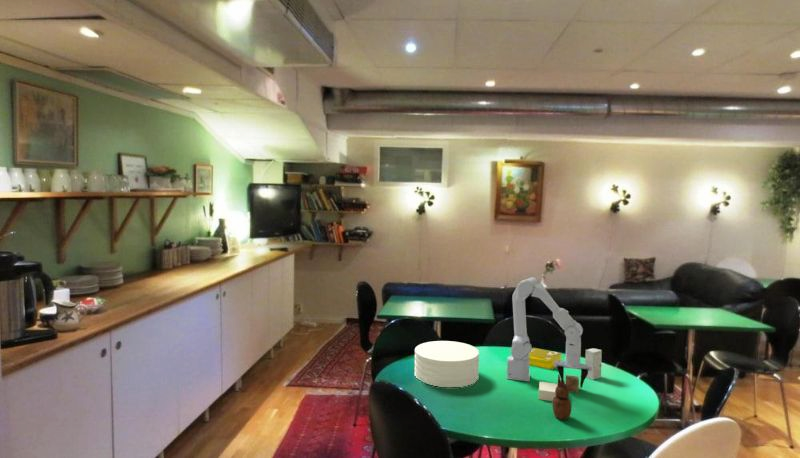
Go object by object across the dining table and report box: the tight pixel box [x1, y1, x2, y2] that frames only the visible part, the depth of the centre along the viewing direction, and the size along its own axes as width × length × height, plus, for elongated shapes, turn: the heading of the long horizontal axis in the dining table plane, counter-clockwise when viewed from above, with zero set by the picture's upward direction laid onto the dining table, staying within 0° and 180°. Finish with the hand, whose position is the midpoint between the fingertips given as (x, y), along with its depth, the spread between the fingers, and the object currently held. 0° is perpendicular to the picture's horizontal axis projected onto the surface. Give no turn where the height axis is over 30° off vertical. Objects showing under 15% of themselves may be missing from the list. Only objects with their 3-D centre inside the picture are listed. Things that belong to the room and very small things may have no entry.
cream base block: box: [538, 381, 558, 402], centre depth 187 cm, size 9×9×4 cm
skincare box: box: [584, 347, 603, 380], centre depth 207 cm, size 6×4×12 cm
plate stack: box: [414, 340, 480, 388], centre depth 207 cm, size 28×28×12 cm
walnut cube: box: [565, 374, 580, 394], centre depth 193 cm, size 5×5×5 cm
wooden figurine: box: [551, 374, 572, 421], centre depth 168 cm, size 7×6×15 cm
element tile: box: [529, 347, 562, 370], centre depth 226 cm, size 15×15×5 cm
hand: (571, 385), depth 193 cm, fingers open, 6 cm apart
